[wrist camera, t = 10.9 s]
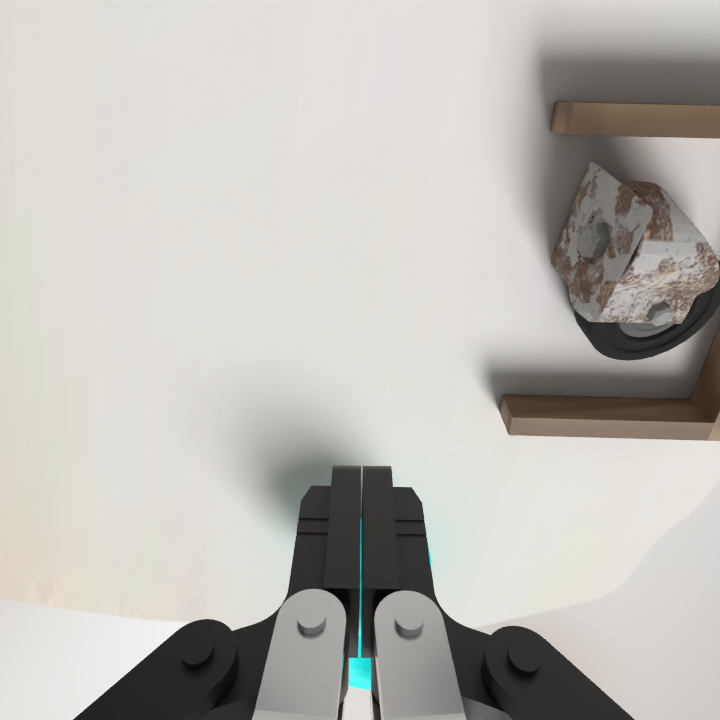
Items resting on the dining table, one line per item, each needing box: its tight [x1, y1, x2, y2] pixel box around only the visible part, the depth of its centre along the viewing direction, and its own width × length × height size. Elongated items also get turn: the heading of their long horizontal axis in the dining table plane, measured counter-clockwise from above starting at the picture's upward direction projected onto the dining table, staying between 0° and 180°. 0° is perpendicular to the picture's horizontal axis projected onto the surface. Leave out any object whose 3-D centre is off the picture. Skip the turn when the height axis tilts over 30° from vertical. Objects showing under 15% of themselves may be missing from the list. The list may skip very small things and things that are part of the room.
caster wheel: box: [551, 161, 720, 360], centre depth 31 cm, size 7×11×10 cm
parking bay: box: [499, 102, 720, 441], centre depth 32 cm, size 21×16×3 cm
